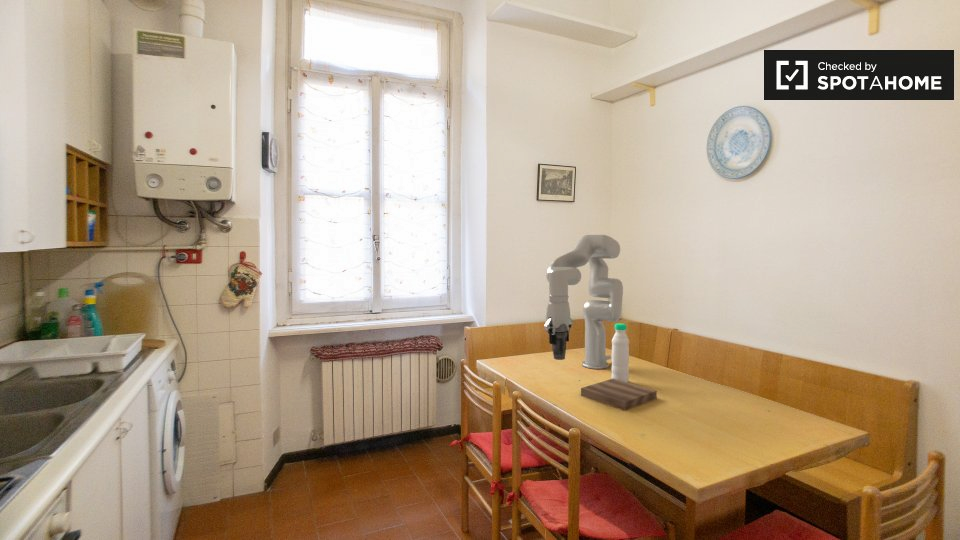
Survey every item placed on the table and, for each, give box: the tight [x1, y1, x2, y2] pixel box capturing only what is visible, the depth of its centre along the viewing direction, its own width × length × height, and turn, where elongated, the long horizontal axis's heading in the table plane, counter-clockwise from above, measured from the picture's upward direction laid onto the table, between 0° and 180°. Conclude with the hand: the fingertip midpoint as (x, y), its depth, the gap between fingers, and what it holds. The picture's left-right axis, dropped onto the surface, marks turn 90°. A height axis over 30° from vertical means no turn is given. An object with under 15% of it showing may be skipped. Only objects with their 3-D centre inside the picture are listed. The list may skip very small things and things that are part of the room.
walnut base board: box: [580, 378, 658, 411], centre depth 178 cm, size 20×20×3 cm
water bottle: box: [610, 322, 630, 383], centre depth 196 cm, size 7×7×25 cm
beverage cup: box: [551, 324, 568, 361], centre depth 189 cm, size 7×7×20 cm
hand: (559, 342), depth 189 cm, fingers closed on beverage cup, 6 cm apart
